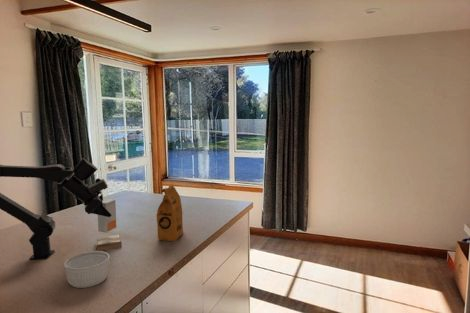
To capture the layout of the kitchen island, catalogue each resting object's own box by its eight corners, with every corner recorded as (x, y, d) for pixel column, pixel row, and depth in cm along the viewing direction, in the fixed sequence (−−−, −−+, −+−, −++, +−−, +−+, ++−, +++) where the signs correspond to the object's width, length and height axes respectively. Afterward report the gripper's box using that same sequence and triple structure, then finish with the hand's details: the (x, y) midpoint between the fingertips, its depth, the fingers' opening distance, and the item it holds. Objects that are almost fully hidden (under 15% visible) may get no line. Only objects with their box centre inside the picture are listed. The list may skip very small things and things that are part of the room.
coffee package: (153, 241, 135) (150, 189, 133) (165, 230, 148) (162, 183, 145) (176, 242, 134) (174, 189, 131) (186, 231, 146) (184, 183, 143)
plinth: (121, 247, 130) (121, 241, 129) (97, 251, 126) (96, 245, 126) (120, 239, 138) (120, 234, 138) (97, 243, 135) (97, 237, 134)
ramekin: (108, 266, 114) (106, 247, 113) (114, 283, 102) (112, 262, 101) (65, 276, 107) (63, 256, 106) (66, 295, 96) (64, 273, 95)
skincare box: (107, 233, 128) (105, 203, 126) (98, 231, 129) (96, 202, 128) (117, 228, 134) (115, 199, 132) (108, 226, 135) (107, 198, 133)
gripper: (92, 177, 119) (126, 203, 124) (94, 169, 136) (123, 193, 141) (70, 200, 117) (105, 226, 122) (74, 190, 134) (105, 213, 139)
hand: (110, 213), depth 131 cm, fingers closed on skincare box, 7 cm apart
